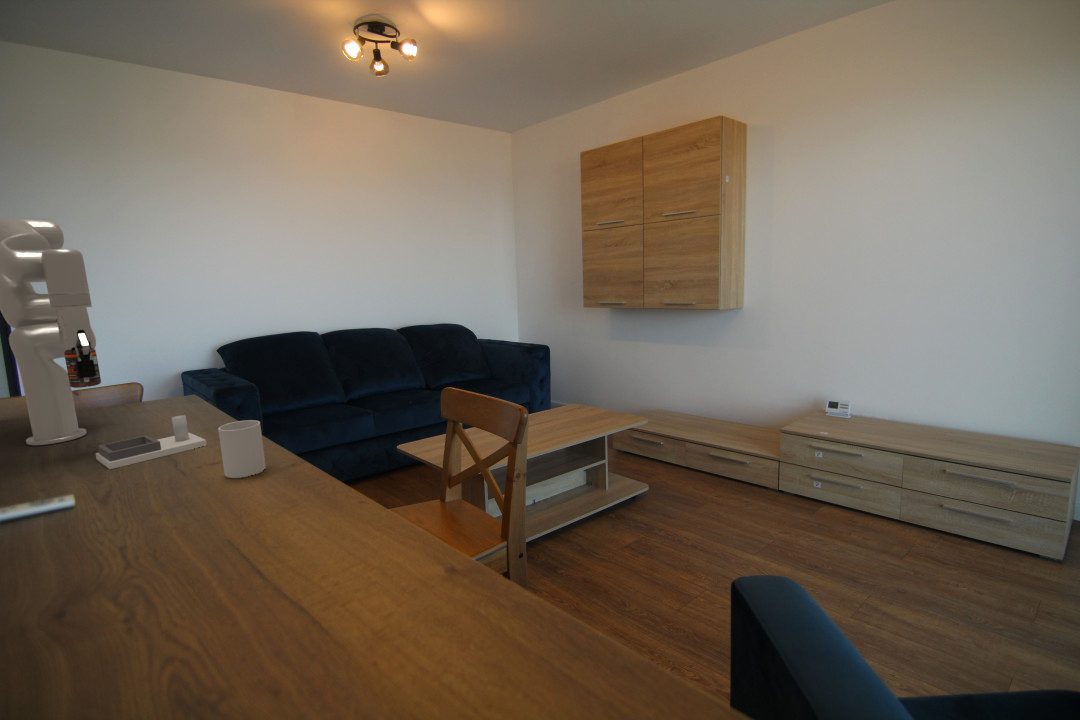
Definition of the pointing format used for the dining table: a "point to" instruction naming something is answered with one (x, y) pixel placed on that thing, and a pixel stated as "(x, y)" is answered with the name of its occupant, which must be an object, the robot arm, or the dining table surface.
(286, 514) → the dining table surface
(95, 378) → the supplement bottle
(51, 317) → the robot arm
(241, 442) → the mug
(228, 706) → the dining table surface
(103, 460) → the framed tray with peg
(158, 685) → the dining table surface
